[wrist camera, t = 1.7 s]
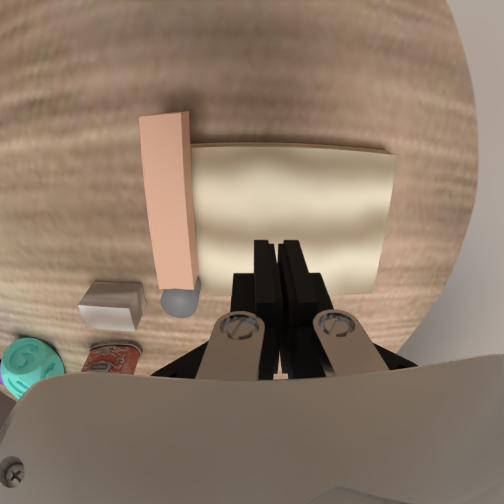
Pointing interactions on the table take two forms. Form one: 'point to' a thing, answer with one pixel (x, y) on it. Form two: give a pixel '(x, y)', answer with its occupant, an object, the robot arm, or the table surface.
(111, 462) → the robot arm
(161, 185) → the stool leg
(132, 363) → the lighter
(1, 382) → the spatula
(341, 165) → the stool seat
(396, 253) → the table surface
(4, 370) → the decorative dice
